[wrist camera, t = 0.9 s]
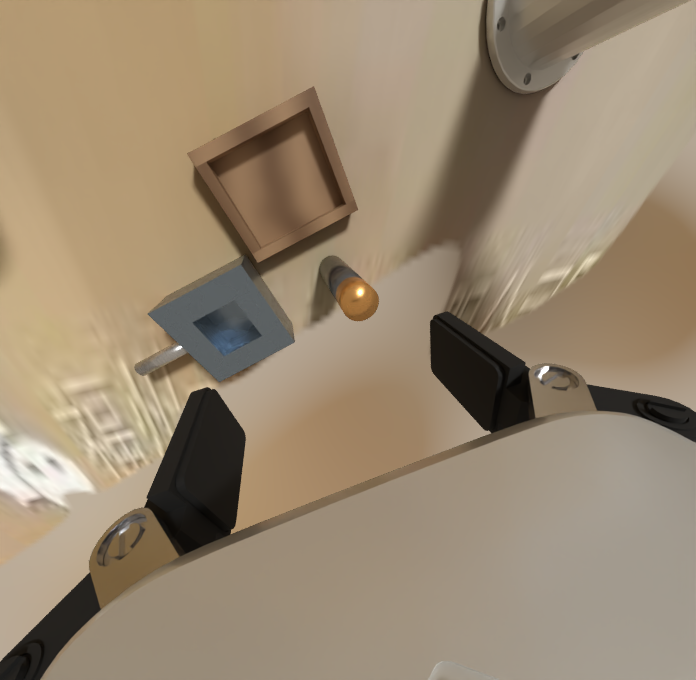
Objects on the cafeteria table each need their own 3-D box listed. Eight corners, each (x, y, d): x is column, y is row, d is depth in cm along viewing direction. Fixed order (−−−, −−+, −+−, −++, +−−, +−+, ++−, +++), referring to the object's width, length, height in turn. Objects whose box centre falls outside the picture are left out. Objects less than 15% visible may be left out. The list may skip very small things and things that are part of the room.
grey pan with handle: (245, 254, 27) (240, 264, 23) (292, 323, 33) (294, 342, 29) (115, 323, 27) (86, 346, 23) (183, 381, 33) (170, 408, 29)
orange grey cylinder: (338, 250, 30) (371, 278, 20) (348, 274, 32) (383, 310, 21) (314, 263, 30) (336, 296, 20) (326, 285, 32) (351, 327, 21)
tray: (310, 95, 22) (313, 86, 20) (352, 208, 28) (358, 209, 26) (194, 157, 22) (186, 153, 20) (259, 258, 28) (258, 262, 26)
